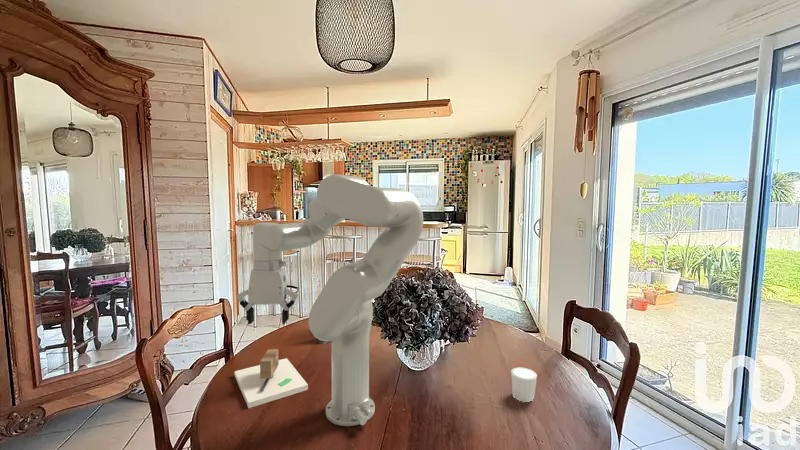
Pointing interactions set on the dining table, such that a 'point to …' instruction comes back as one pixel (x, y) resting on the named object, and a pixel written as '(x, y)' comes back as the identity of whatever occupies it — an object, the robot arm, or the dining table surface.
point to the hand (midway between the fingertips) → (267, 322)
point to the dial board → (269, 383)
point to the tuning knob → (268, 365)
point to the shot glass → (523, 384)
